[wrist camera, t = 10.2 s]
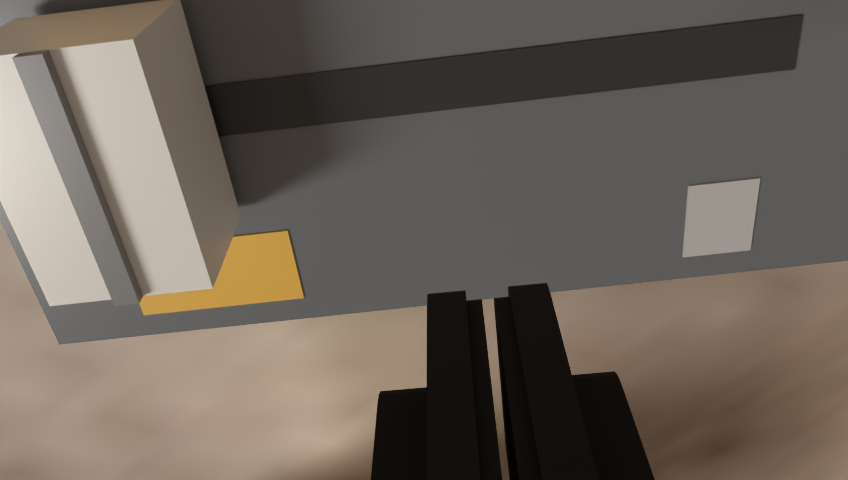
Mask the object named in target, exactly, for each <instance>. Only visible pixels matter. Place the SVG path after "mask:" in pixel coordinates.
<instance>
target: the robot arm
mask: <svg viewBox="0 0 848 480" xmlns="http://www.w3.org/2000/svg"><path fill="white" fill-rule="evenodd" d="M494 307H495V319H496V332H497V344H498V357H499V369H500V381H501V394H502V406H503V418H504V431H505V442H506V452H507V462H508V470H509V478H510V480H654V477H653V474H652V471H651V468H650V465H649V462H648V460H647V457H646V454H645V451H644V448H643V445H642V442H641V439H640V437H639V434H638V431H637V428H636V425H635V422H634V419H633V416H632V413H631V411H630V408H629V405H628V402H627V399H626V396H625V393H624V390H623V388H622V385H621V382H620V380H619V377H618V375H617V374H616V373H615V372H604V373H592V374H580V375H572V374H571V371H570V367H569V363H568V359H567V355H566V352H565V348H564V344H563V340H562V336H561V332H560V329H559V325H558V321H557V317H556V313H555V310H554V306H553V302H552V298H551V294H550V291H549V287H548V284H547V283H539V284H528V285H517V286H508V297H499V298H494ZM371 480H502V475H501V466H500V457H499V448H498V439H497V430H496V421H495V413H494V404H493V395H492V386H491V377H490V368H489V359H488V351H487V342H486V333H485V324H484V315H483V306H482V299H477V300H467V299H466V291H465V290H463V291H452V292H442V293H431V294H427V387H426V388H415V389H403V390H391V391H381V392H380V394H379V398H378V406H377V417H376V428H375V440H374V451H373V462H372V473H371Z"/></svg>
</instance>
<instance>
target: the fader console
mask: <svg viewBox="0 0 848 480" xmlns="http://www.w3.org/2000/svg"><path fill="white" fill-rule="evenodd" d="M151 1H159V0H0V27H1V26H3V25H5V24H7V23H8V22H10V21H12V20H14V19H15V18H22V17H30V16H38V15H46V14H54V13H62V12H70V11H78V10H86V9H94V8H103V7H111V6H119V5H127V4H135V3H143V2H151ZM180 1H181V4H182V8H183V11H184V15H185V19H186V22H187V26H188V29H189V33H190V37H191V40H192V44H193V47H194V51H195V54H196V58H197V62H198V65H199V69H200V72H201V76H202V79H203V83H204V87H205V90H206V94H207V97H208V101H209V105H210V108H211V112H212V115H213V119H214V122H215V126H216V130H217V133H218V137H219V140H220V144H221V147H222V151H223V155H224V158H225V162H226V165H227V169H228V173H229V176H230V180H231V183H232V187H233V190H234V194H235V198H236V201H237V205H238V208H239V212H240V215H241V218H240V221H239V223H238V226H237V228H236V231H235V233H234V236H233V238H232V241H231V244H230V246H229V249H228V251H227V254H226V256H225V259H224V261H223V264H222V267H221V269H220V272H219V274H218V277H217V279H216V282H215V284H214V287H213V289H204V290H195V291H186V292H177V293H167V294H158V295H149V296H143V297H142V299H141V301H140V303H139V304H130V305H121V306H114V304H113V302H112V300H103V301H94V302H84V303H75V304H66V305H57V306H49V304H48V302H47V300H46V297H45V295H44V293H43V291H42V289H41V287H40V285H39V283H38V280H37V278H36V276H35V274H34V272H33V270H32V268H31V266H30V263H29V261H28V259H27V257H26V255H25V253H24V251H23V248H22V246H21V244H20V242H19V240H18V238H17V236H16V234H15V231H14V229H13V227H12V225H11V223H10V221H9V219H8V216H7V214H6V212H5V210H4V208H3V206H2V204H1V202H0V221H1V223H2V225H3V227H4V229H5V231H6V233H7V236H8V238H9V240H10V242H11V244H12V246H13V248H14V250H15V252H16V254H17V256H18V259H19V261H20V263H21V265H22V267H23V269H24V271H25V273H26V275H27V277H28V280H29V282H30V284H31V286H32V288H33V290H34V292H35V294H36V296H37V298H38V301H39V303H40V305H41V307H42V309H43V311H44V313H45V315H46V317H47V319H48V322H49V324H50V326H51V328H52V330H53V332H54V334H55V336H56V338H57V340H58V343H59V344H68V343H78V342H87V341H96V340H106V339H115V338H124V337H134V336H143V335H153V334H162V333H171V332H181V331H190V330H200V329H209V328H218V327H228V326H237V325H247V324H256V323H265V322H275V321H284V320H294V319H303V318H312V317H322V316H331V315H341V314H350V313H359V312H369V311H378V310H388V309H397V308H406V307H416V306H425V305H427V294H431V293H442V292H452V291H463V290H465V291H466V299H467V300H477V299H491V298H499V297H508V286H517V285H528V284H539V283H547V284H548V287H549V291H550V292H557V291H566V290H575V289H585V288H594V287H604V286H613V285H622V284H632V283H641V282H651V281H660V280H669V279H679V278H688V277H697V276H707V275H716V274H726V273H735V272H744V271H754V270H763V269H773V268H782V267H791V266H801V265H810V264H820V263H829V262H838V261H848V0H180Z"/></svg>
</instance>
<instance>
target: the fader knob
mask: <svg viewBox="0 0 848 480" xmlns="http://www.w3.org/2000/svg"><path fill="white" fill-rule="evenodd" d="M0 202H1V204H2V206H3V208H4V210H5V212H6V214H7V216H8V219H9V221H10V223H11V225H12V227H13V229H14V231H15V234H16V236H17V238H18V240H19V242H20V244H21V246H22V248H23V251H24V253H25V255H26V257H27V259H28V261H29V263H30V266H31V268H32V270H33V272H34V274H35V276H36V278H37V280H38V283H39V285H40V287H41V289H42V291H43V293H44V295H45V297H46V300H47V302H48V304H49V306H57V305H66V304H75V303H84V302H94V301H103V300H112V302H113V304H114V306H121V305H130V304H139V303H140V301H141V299H142V297H143V296H149V295H158V294H167V293H177V292H186V291H195V290H204V289H213V287H214V284H215V282H216V279H217V277H218V274H219V272H220V269H221V267H222V264H223V261H224V259H225V256H226V254H227V251H228V249H229V246H230V244H231V241H232V238H233V236H234V233H235V231H236V228H237V226H238V223H239V221H240V218H241V215H240V212H239V208H238V205H237V201H236V198H235V194H234V190H233V187H232V183H231V180H230V176H229V173H228V169H227V165H226V162H225V158H224V155H223V151H222V147H221V144H220V140H219V137H218V133H217V130H216V126H215V122H214V119H213V115H212V112H211V108H210V105H209V101H208V97H207V94H206V90H205V87H204V83H203V79H202V76H201V72H200V69H199V65H198V62H197V58H196V54H195V51H194V47H193V44H192V40H191V37H190V33H189V29H188V26H187V22H186V19H185V15H184V11H183V8H182V4H181V1H180V0H159V1H151V2H143V3H135V4H127V5H119V6H111V7H103V8H94V9H86V10H78V11H70V12H62V13H54V14H46V15H38V16H30V17H22V18H15V19H14V20H12V21H10V22H8V23H7V24H5V25H3V26H1V27H0Z"/></svg>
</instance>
